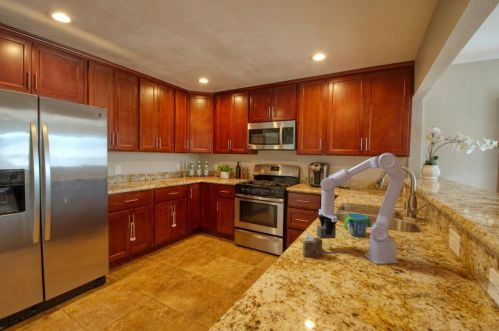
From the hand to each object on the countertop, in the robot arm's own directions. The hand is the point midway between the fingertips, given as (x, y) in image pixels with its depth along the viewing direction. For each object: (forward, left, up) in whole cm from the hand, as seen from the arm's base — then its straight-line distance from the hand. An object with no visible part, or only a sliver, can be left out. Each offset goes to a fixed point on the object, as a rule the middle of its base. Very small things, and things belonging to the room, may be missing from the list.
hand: (326, 232), depth 103 cm
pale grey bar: (+7, -1, -7) cm, 10 cm away
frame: (+3, +7, -7) cm, 10 cm away
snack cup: (-25, -15, -7) cm, 30 cm away
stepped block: (0, 0, -2) cm, 2 cm away
